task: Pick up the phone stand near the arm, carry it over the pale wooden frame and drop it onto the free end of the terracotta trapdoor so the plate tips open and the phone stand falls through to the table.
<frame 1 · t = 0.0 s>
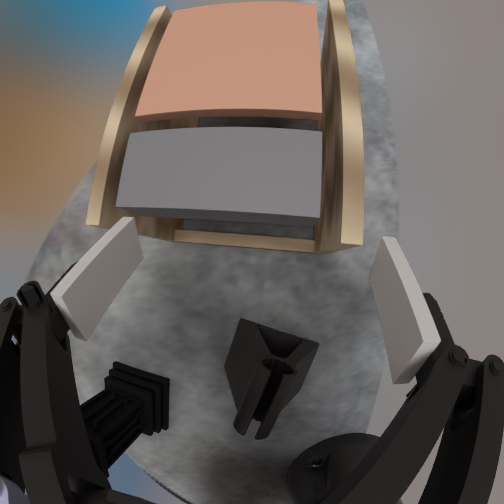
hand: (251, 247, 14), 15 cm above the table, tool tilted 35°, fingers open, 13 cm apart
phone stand: (271, 354, 29), on the table
chess piece: (142, 395, 30), on the table
trapdoor: (231, 90, 17), point 13 cm above the table, hinge at 0.0°
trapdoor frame: (250, 179, 30), on the table
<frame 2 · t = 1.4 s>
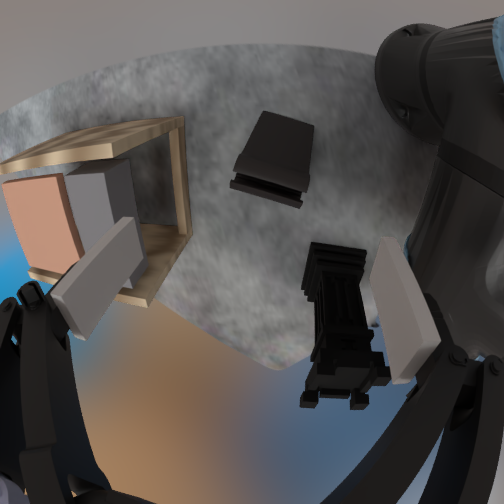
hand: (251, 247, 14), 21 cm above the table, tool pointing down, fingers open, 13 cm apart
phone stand: (278, 152, 31), on the table
chess piece: (332, 268, 39), on the table
trapdoor: (65, 221, 25), point 13 cm above the table, hinge at 0.0°
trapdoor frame: (139, 178, 35), on the table
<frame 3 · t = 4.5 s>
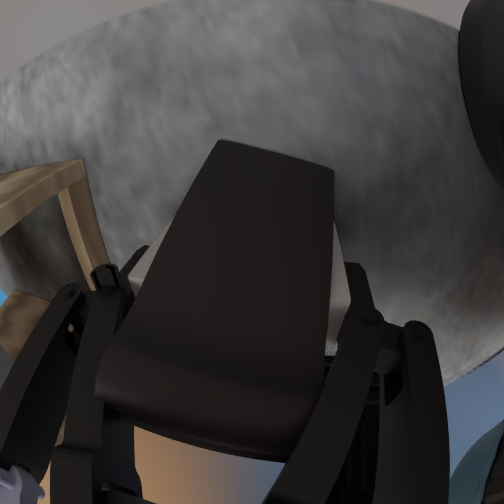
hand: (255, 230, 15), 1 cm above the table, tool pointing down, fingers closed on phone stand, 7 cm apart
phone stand: (257, 224, 16), on the table, touching gripper
chess piece: (345, 378, 24), on the table
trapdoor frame: (51, 254, 20), on the table
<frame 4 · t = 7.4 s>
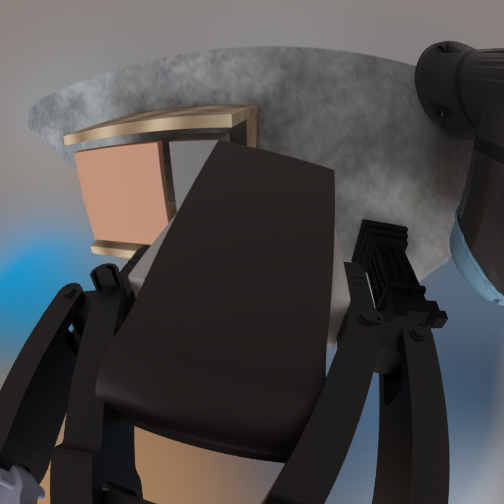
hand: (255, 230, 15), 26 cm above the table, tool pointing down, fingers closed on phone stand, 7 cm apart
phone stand: (258, 224, 16), point 25 cm above the table, touching gripper
chess piece: (378, 243, 42), on the table
trapdoor: (150, 191, 29), point 13 cm above the table, hinge at 0.0°
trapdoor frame: (208, 160, 39), on the table
when the fingers open (18 cm above the table, at t = 10.5 s): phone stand drops 4 cm, resting on trapdoor.
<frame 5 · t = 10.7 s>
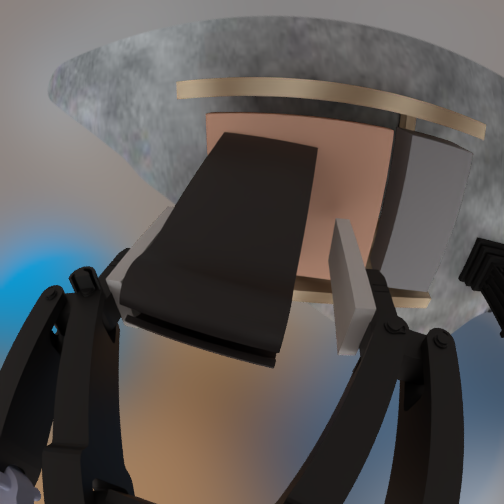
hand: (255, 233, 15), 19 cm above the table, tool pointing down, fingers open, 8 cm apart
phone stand: (263, 199, 19), point 14 cm above the table, touching gripper, trapdoor
chess piece: (482, 260, 33), on the table
trapdoor: (337, 199, 19), point 13 cm above the table, hinge at -5.1°, touching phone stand
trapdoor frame: (344, 159, 30), on the table
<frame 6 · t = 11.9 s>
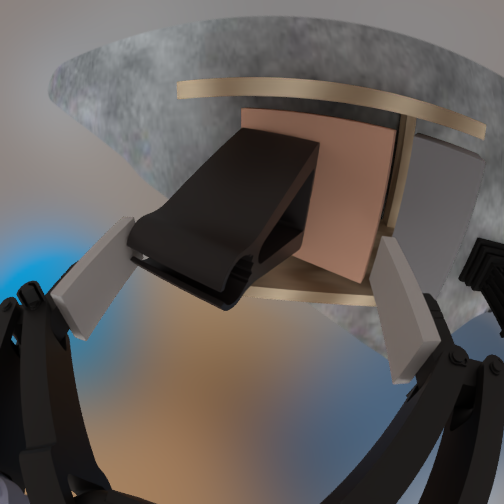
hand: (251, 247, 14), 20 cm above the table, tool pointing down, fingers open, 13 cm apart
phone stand: (276, 187, 21), point 11 cm above the table, touching gripper, trapdoor
chess piece: (482, 260, 33), on the table
trapdoor: (350, 196, 20), point 12 cm above the table, hinge at -29.0°, touching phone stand
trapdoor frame: (344, 159, 30), on the table
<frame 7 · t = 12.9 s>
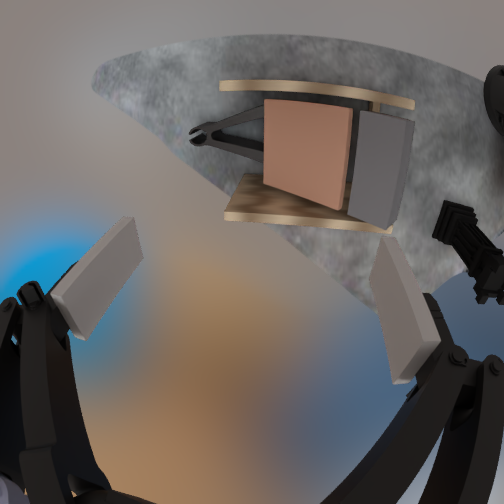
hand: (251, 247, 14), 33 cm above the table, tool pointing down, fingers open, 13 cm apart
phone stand: (273, 131, 38), point 3 cm above the table
chess piece: (452, 221, 43), on the table
trapdoor: (331, 153, 30), point 12 cm above the table, hinge at -37.5°
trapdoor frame: (328, 137, 40), on the table
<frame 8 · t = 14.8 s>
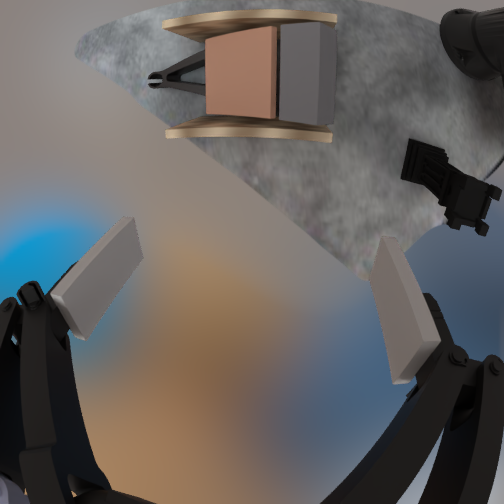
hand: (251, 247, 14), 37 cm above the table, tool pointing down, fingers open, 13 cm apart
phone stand: (223, 72, 37), point 3 cm above the table
chess piece: (422, 162, 42), on the table
trapdoor: (263, 72, 29), point 12 cm above the table, hinge at -34.3°
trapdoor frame: (278, 77, 39), on the table
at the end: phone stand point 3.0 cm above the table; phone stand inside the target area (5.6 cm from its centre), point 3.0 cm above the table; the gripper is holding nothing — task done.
